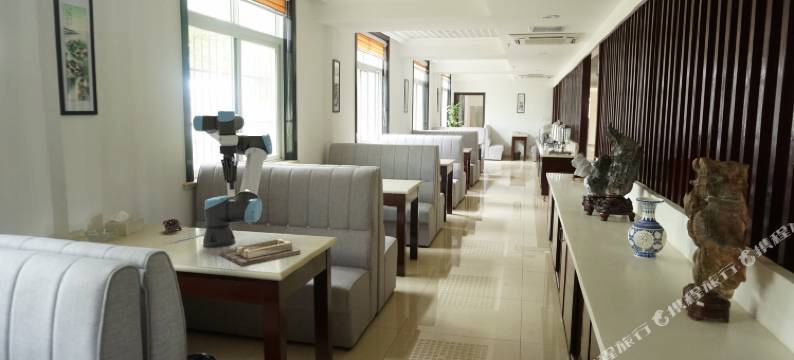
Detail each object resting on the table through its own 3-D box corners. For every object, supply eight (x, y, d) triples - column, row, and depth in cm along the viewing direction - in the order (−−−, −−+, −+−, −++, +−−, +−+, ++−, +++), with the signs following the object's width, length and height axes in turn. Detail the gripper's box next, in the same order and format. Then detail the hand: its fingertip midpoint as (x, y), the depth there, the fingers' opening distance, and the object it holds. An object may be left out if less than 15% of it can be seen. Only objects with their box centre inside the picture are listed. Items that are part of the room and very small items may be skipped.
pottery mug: (187, 230, 305) (183, 219, 300) (174, 241, 298) (171, 230, 293) (170, 224, 309) (166, 213, 304) (157, 234, 302) (154, 223, 297)
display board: (219, 255, 251) (219, 251, 251) (274, 244, 269) (274, 240, 269) (242, 266, 233) (242, 262, 233) (300, 253, 251) (300, 250, 251)
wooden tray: (235, 253, 247) (235, 246, 246) (278, 244, 261) (278, 237, 261) (248, 258, 238) (248, 250, 237) (292, 248, 252) (292, 241, 252)
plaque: (204, 231, 303) (204, 230, 303) (216, 233, 298) (216, 232, 298) (151, 244, 275) (151, 243, 275) (163, 247, 270) (163, 245, 270)
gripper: (214, 144, 251) (217, 195, 254) (226, 145, 241) (229, 199, 244) (229, 143, 255) (233, 193, 259) (242, 144, 246) (245, 197, 249)
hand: (231, 196), depth 251 cm, fingers closed
